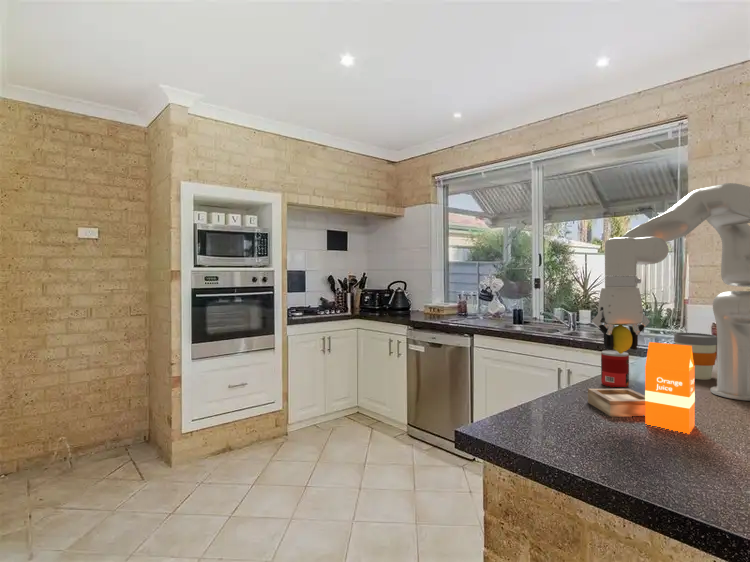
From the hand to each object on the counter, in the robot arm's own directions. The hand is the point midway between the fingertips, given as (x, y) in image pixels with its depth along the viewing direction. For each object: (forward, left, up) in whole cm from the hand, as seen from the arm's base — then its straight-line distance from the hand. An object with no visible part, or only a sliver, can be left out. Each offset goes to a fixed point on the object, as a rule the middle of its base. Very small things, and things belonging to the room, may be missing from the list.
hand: (620, 348), depth 114 cm
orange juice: (-5, +12, -17) cm, 22 cm away
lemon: (0, 0, -2) cm, 2 cm away
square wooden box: (0, 0, -17) cm, 17 cm away
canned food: (-12, -25, -17) cm, 33 cm away
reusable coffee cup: (-47, -37, -17) cm, 62 cm away
